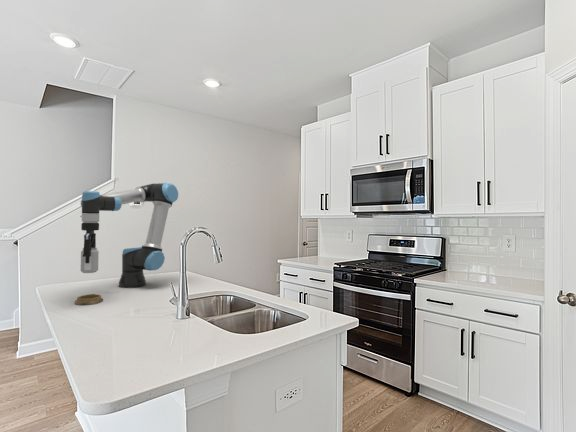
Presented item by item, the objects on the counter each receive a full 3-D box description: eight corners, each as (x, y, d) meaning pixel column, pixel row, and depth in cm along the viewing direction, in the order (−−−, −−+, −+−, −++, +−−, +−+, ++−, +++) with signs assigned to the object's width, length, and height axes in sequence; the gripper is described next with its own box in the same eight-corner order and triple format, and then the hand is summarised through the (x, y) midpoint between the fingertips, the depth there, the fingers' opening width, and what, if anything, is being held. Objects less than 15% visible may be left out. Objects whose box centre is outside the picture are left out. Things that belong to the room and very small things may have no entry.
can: (101, 271, 169) (101, 247, 169) (91, 273, 162) (91, 248, 162) (87, 270, 170) (88, 247, 170) (76, 273, 163) (77, 248, 163)
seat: (105, 298, 174) (105, 293, 174) (100, 304, 163) (100, 298, 163) (78, 299, 170) (78, 294, 170) (71, 305, 159) (71, 300, 159)
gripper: (86, 221, 174) (85, 265, 174) (76, 222, 155) (75, 272, 155) (102, 221, 177) (102, 265, 177) (94, 223, 158) (93, 271, 158)
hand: (89, 268), depth 166 cm, fingers closed on can, 7 cm apart
